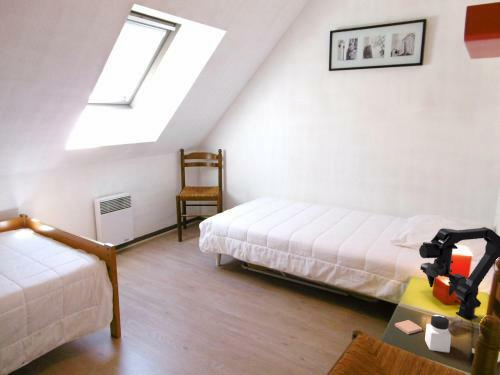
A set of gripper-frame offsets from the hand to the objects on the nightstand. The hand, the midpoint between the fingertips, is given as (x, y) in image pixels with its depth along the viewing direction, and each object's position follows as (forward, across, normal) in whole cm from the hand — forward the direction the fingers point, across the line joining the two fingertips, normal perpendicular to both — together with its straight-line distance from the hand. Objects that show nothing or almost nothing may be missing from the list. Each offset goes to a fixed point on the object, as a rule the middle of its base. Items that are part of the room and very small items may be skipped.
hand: (440, 291), depth 164 cm
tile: (+12, +2, -17) cm, 20 cm away
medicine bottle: (+12, +16, -21) cm, 29 cm away
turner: (+12, +9, -7) cm, 17 cm away
